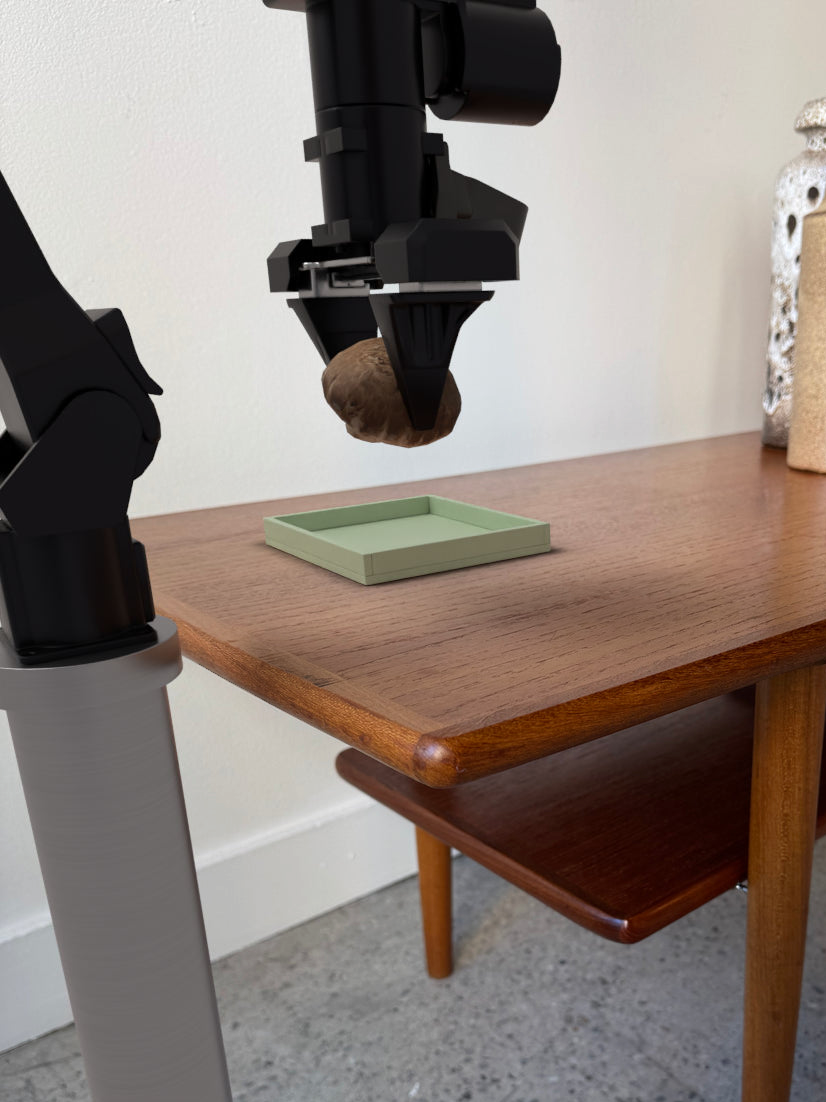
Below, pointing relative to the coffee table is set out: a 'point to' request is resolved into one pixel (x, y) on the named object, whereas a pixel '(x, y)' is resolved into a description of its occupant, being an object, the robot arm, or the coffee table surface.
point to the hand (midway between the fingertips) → (393, 425)
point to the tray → (405, 537)
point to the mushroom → (381, 398)
